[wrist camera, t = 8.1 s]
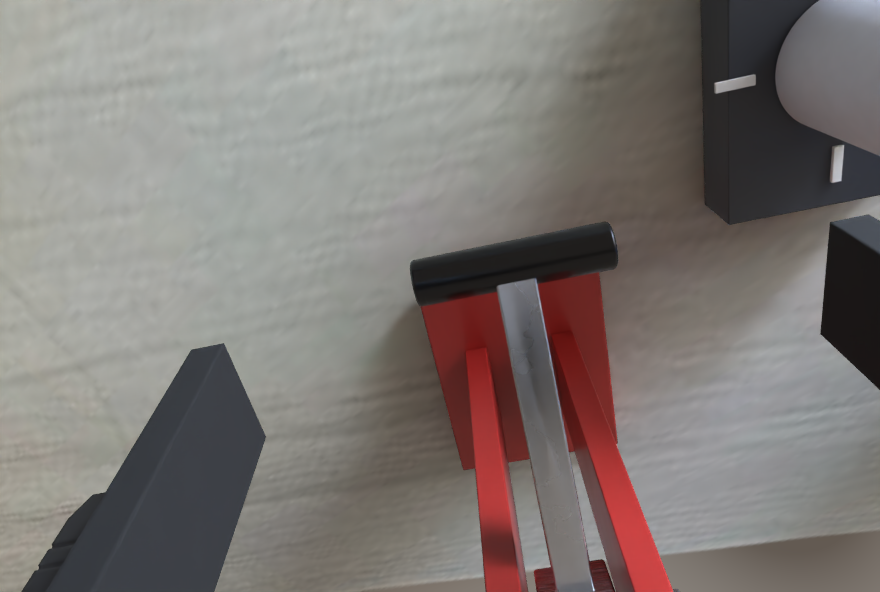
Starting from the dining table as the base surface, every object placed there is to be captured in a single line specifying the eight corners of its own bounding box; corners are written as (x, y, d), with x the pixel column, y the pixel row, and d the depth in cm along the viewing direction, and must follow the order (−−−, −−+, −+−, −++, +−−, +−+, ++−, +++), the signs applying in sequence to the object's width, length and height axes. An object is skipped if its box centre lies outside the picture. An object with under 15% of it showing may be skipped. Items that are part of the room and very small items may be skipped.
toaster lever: (414, 257, 19) (404, 264, 16) (599, 220, 18) (617, 221, 16) (498, 657, 20) (500, 717, 18) (671, 632, 20) (698, 690, 17)
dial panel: (683, -82, 22) (713, -88, 20) (949, -146, 21) (1013, -160, 19) (692, 207, 27) (717, 229, 25) (909, 163, 26) (955, 182, 24)
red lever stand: (420, 292, 29) (408, 593, 15) (592, 258, 28) (750, 540, 14) (462, 455, 34) (483, 802, 19) (612, 429, 33) (746, 770, 19)
